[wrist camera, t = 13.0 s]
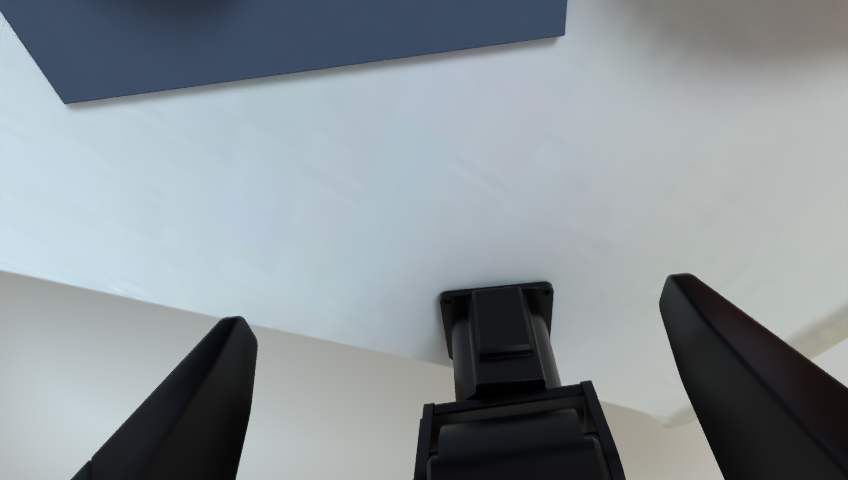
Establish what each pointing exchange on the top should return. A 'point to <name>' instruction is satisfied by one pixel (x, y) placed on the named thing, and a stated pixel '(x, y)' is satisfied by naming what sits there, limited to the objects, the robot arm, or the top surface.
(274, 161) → the top surface
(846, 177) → the top surface
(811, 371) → the robot arm
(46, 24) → the mouse mat
